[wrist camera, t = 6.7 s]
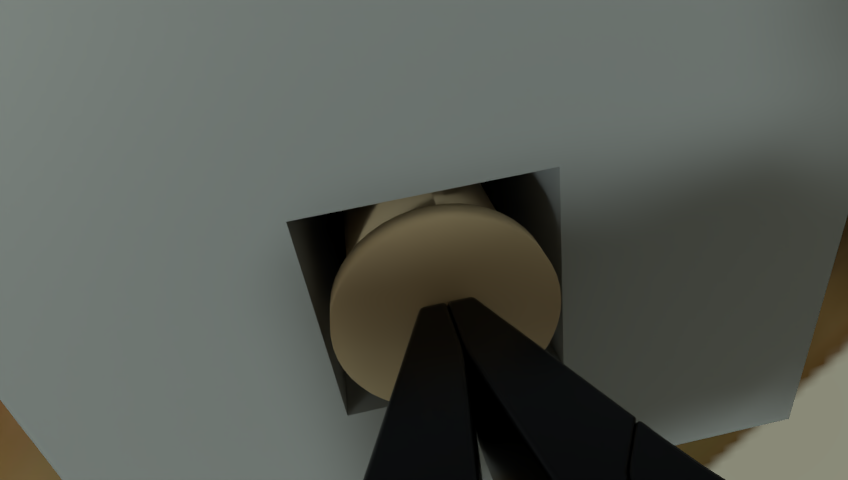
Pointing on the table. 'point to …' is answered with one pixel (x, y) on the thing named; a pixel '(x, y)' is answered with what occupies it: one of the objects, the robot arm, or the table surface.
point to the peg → (432, 276)
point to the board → (390, 180)
